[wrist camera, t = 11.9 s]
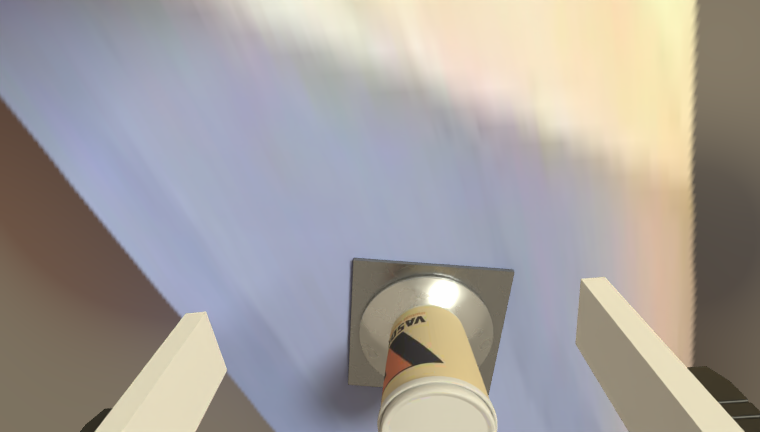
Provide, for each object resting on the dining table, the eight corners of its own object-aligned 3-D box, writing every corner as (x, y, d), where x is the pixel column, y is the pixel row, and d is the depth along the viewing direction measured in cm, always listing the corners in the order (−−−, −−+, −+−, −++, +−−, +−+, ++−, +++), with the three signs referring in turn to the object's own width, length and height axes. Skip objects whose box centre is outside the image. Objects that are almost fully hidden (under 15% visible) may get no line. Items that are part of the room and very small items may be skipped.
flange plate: (353, 257, 40) (352, 263, 39) (513, 269, 40) (516, 275, 39) (348, 381, 46) (347, 389, 45) (487, 392, 46) (489, 400, 45)
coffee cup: (417, 280, 39) (424, 367, 28) (490, 326, 41) (525, 426, 30) (365, 343, 42) (353, 444, 31) (435, 383, 44) (449, 493, 33)
